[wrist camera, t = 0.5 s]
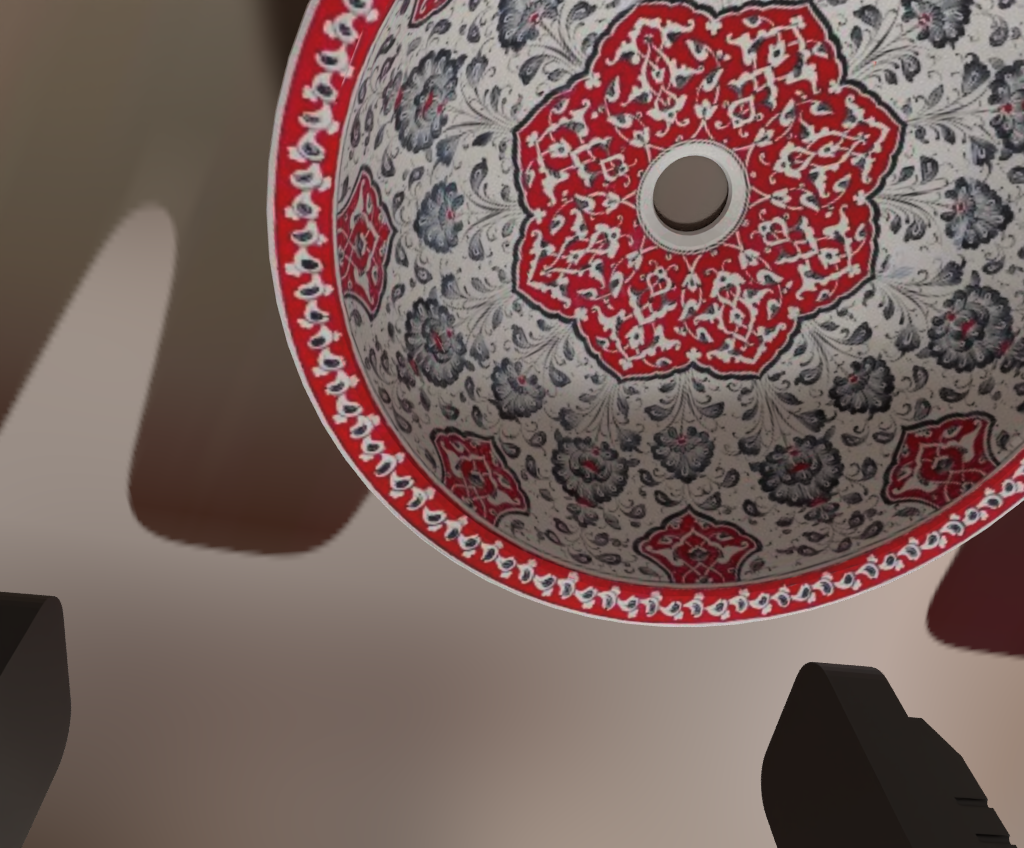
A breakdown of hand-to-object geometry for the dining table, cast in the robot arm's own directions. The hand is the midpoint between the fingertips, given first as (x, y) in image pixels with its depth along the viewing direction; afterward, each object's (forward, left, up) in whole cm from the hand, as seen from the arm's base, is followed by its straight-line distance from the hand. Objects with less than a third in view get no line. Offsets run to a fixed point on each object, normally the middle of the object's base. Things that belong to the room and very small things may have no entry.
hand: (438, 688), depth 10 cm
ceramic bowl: (-1, +9, -28) cm, 29 cm away
